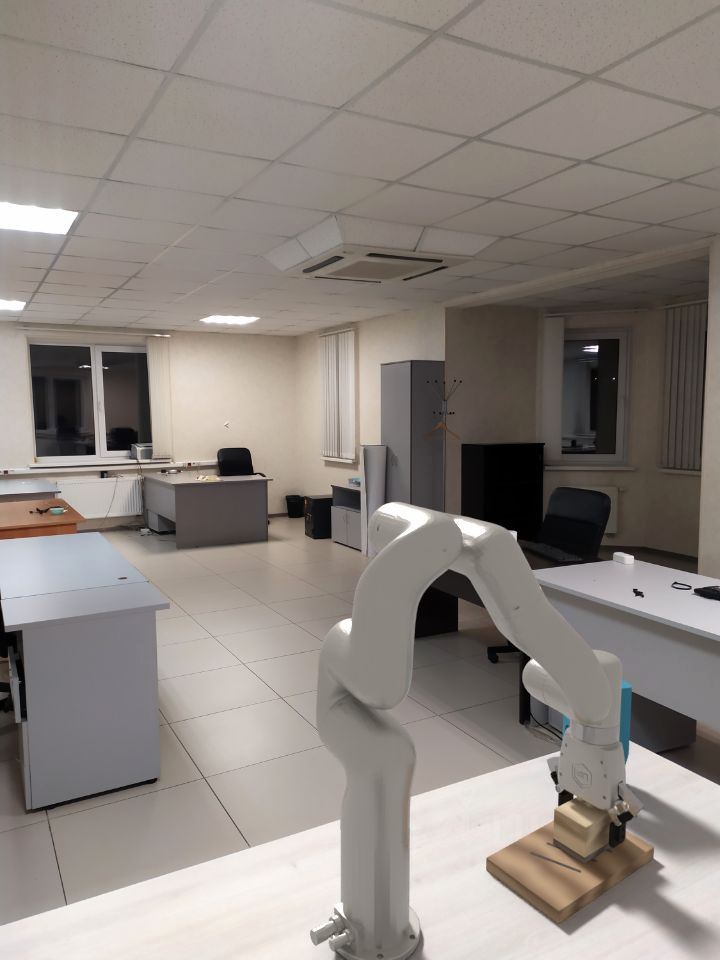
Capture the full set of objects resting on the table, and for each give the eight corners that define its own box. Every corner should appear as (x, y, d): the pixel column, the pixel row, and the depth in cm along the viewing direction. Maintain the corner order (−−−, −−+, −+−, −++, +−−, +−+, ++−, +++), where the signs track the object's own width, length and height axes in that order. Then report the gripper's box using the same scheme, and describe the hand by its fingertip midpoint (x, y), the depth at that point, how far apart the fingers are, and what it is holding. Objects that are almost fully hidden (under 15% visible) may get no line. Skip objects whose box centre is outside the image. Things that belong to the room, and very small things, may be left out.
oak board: (558, 924, 96) (559, 910, 96) (486, 869, 107) (486, 857, 107) (653, 858, 110) (654, 846, 110) (580, 816, 121) (580, 805, 121)
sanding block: (584, 863, 106) (585, 827, 105) (553, 843, 110) (554, 808, 110) (625, 837, 112) (627, 803, 111) (594, 820, 117) (595, 787, 116)
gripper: (536, 714, 114) (533, 810, 116) (629, 758, 100) (624, 866, 102) (564, 703, 118) (561, 796, 120) (657, 743, 104) (652, 847, 106)
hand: (590, 828), depth 111 cm, fingers open, 9 cm apart
